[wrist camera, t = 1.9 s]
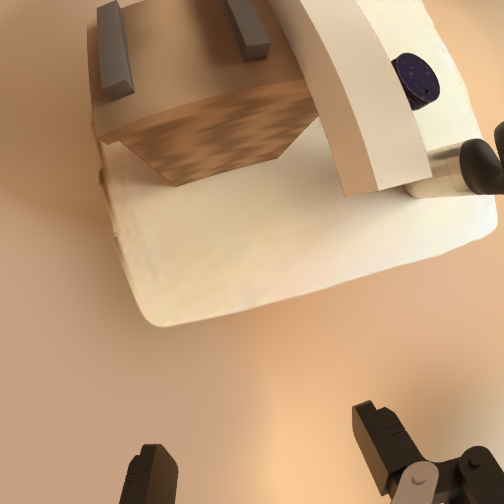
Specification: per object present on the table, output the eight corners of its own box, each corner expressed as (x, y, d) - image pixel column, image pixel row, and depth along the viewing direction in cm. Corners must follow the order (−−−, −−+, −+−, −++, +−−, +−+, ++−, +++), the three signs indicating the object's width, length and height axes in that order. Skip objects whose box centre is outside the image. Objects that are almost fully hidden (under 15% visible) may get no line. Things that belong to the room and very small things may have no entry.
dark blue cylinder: (350, 85, 47) (386, 51, 32) (385, 81, 48) (423, 52, 33) (370, 128, 49) (413, 104, 34) (403, 121, 49) (448, 100, 34)
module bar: (285, -44, 14) (295, -75, 9) (394, 183, 17) (437, 176, 12) (242, -43, 13) (247, -76, 9) (344, 196, 16) (382, 189, 12)
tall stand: (262, 104, 46) (324, -35, 12) (281, 160, 47) (386, 63, 14) (159, 132, 44) (78, 9, 11) (174, 190, 46) (83, 128, 12)
